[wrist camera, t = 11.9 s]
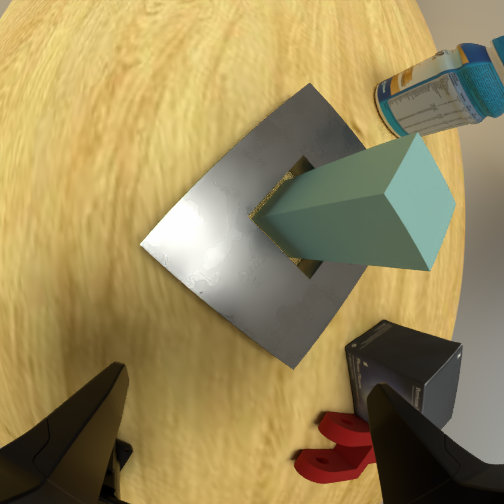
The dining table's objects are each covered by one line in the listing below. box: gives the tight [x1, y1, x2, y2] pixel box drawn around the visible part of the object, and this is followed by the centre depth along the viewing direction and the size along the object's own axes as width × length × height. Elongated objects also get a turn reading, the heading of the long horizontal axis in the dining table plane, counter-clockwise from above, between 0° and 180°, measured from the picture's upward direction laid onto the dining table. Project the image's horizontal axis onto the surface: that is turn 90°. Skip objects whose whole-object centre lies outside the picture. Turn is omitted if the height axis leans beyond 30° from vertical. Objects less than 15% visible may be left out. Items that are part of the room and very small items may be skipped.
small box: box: [346, 320, 463, 430], centre depth 22 cm, size 11×6×10 cm, turn 18°
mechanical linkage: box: [294, 411, 376, 484], centre depth 24 cm, size 16×7×5 cm, turn 63°
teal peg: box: [252, 132, 456, 271], centre depth 16 cm, size 4×4×13 cm
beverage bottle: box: [375, 36, 504, 138], centre depth 18 cm, size 8×8×20 cm
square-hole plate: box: [140, 83, 368, 370], centre depth 21 cm, size 18×14×3 cm
